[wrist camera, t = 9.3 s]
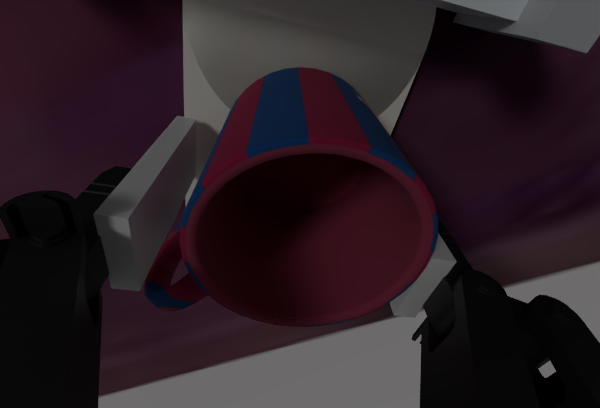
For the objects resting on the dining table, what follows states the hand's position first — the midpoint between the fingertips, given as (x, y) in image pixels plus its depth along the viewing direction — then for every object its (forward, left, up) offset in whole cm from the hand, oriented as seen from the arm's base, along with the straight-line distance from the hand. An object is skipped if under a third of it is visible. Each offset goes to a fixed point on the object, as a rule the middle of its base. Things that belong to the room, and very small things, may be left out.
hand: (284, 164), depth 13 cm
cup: (0, -1, -1) cm, 1 cm away
